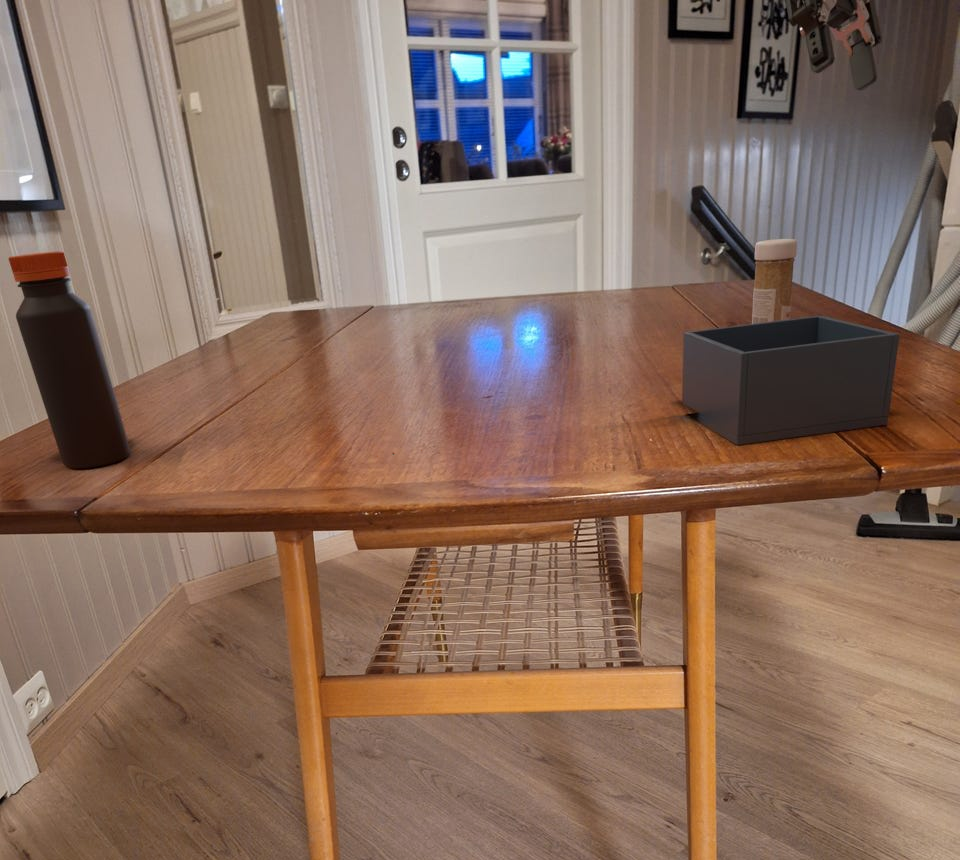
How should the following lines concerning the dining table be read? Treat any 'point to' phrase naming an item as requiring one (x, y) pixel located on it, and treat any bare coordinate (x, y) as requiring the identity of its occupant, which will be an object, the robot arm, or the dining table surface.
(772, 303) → the sprinkles bottle
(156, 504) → the dining table surface
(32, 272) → the vinegar
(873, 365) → the open storage bin
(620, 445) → the dining table surface
